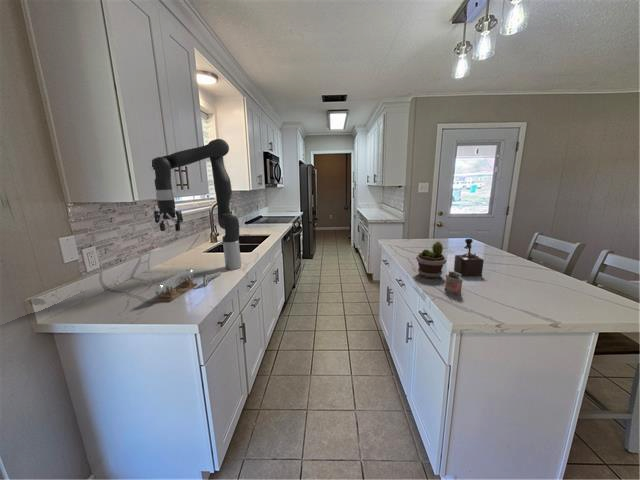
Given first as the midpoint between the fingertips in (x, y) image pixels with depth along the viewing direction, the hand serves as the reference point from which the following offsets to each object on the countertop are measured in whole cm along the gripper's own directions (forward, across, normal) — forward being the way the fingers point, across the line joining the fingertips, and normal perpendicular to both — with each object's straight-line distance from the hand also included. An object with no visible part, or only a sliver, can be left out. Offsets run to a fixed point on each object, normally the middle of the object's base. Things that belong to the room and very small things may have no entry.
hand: (170, 230), depth 130 cm
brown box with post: (+28, -155, -35) cm, 161 cm away
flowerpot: (+28, -134, -26) cm, 139 cm away
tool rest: (+28, -9, +12) cm, 32 cm away
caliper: (+29, -17, -6) cm, 34 cm away
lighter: (+28, -139, -5) cm, 142 cm away
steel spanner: (+24, -9, +12) cm, 28 cm away
